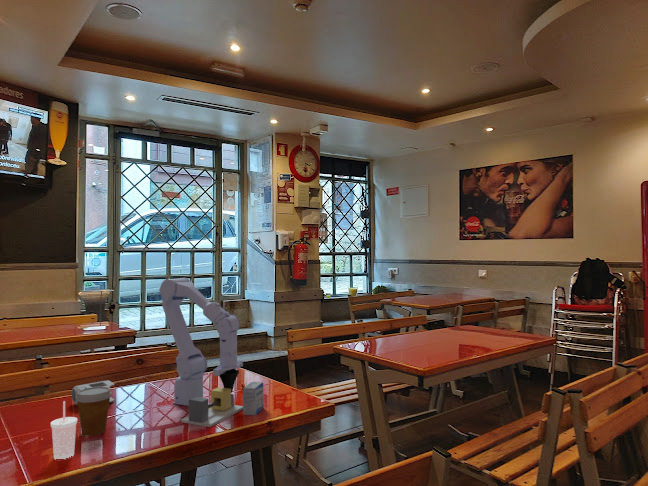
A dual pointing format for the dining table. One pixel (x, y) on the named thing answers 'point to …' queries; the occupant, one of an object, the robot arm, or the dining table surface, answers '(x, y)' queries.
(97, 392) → the disposable coffee cup
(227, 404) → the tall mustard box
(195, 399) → the grey board with rod
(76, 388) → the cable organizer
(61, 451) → the beverage cup
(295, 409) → the dining table surface
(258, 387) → the medicine box
